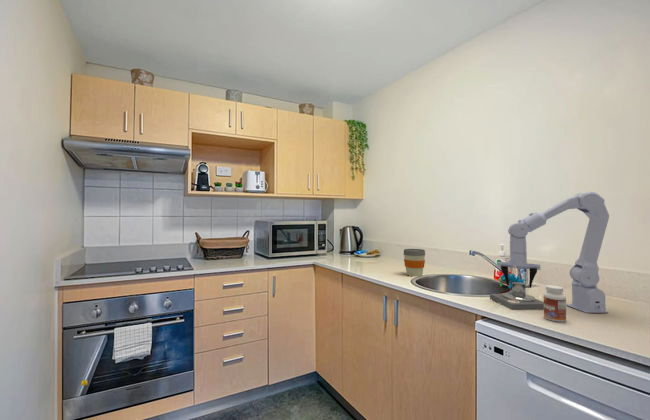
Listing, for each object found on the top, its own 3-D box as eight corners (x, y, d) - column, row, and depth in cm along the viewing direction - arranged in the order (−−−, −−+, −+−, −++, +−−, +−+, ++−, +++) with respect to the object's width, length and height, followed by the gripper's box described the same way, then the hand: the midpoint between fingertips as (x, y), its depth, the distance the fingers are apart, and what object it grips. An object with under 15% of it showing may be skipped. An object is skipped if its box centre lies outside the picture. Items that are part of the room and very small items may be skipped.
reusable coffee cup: (411, 272, 187) (411, 248, 188) (429, 275, 178) (429, 250, 178) (399, 274, 179) (399, 249, 180) (417, 278, 170) (417, 251, 170)
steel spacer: (528, 297, 120) (528, 284, 120) (516, 297, 120) (516, 284, 121) (521, 294, 125) (521, 282, 125) (509, 294, 125) (509, 282, 125)
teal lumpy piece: (528, 285, 145) (518, 271, 142) (525, 295, 142) (515, 282, 139) (505, 284, 154) (495, 271, 151) (501, 293, 151) (492, 281, 149)
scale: (549, 309, 113) (548, 302, 113) (512, 309, 113) (512, 302, 113) (522, 298, 128) (522, 292, 128) (490, 298, 128) (489, 292, 128)
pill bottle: (539, 316, 106) (538, 284, 106) (555, 315, 106) (554, 284, 106) (554, 322, 99) (553, 289, 100) (571, 322, 100) (570, 288, 100)
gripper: (539, 252, 122) (540, 286, 122) (498, 250, 130) (499, 282, 130) (540, 254, 116) (541, 289, 116) (497, 252, 124) (497, 285, 124)
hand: (518, 286), depth 122 cm, fingers open, 7 cm apart
